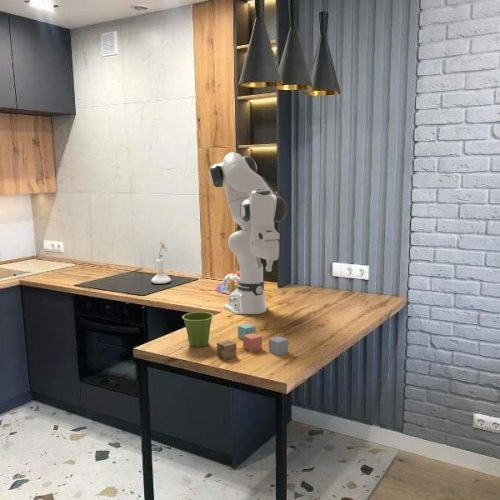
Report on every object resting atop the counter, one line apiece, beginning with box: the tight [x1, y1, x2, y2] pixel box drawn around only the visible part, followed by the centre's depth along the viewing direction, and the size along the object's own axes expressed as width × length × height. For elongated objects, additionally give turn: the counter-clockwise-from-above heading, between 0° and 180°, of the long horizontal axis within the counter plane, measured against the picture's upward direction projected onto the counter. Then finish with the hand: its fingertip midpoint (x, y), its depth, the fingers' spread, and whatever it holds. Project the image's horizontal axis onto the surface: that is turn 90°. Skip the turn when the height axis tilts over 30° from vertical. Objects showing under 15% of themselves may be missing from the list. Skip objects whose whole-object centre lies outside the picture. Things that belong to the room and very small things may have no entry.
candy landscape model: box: [214, 270, 240, 295], centre depth 284 cm, size 25×24×9 cm
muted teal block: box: [237, 323, 257, 340], centre depth 203 cm, size 5×5×5 cm
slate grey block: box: [268, 335, 289, 356], centre depth 187 cm, size 5×5×5 cm
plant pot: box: [181, 311, 214, 348], centre depth 195 cm, size 12×12×11 cm
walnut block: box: [216, 339, 237, 360], centre depth 183 cm, size 5×5×5 cm
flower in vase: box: [150, 240, 172, 285], centre depth 300 cm, size 13×11×25 cm
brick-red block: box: [242, 333, 263, 353], centre depth 191 cm, size 5×5×5 cm
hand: (263, 269), depth 193 cm, fingers open, 8 cm apart
